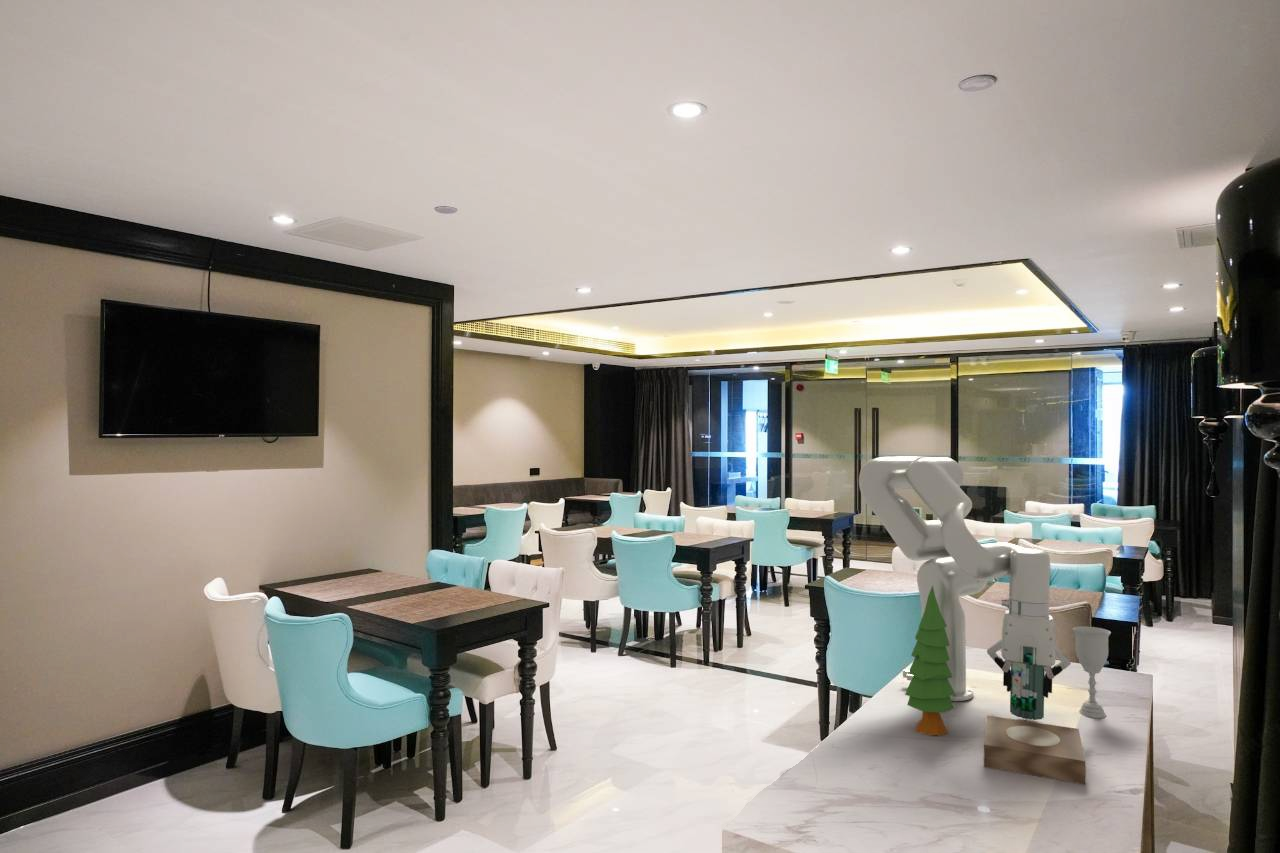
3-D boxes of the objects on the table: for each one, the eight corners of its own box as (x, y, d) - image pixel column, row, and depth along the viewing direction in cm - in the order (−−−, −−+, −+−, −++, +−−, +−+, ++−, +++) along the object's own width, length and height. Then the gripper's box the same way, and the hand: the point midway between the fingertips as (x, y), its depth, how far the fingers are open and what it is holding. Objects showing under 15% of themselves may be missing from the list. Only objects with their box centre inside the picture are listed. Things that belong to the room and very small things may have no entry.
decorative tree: (937, 742, 148) (936, 590, 149) (894, 728, 156) (893, 583, 156) (962, 730, 155) (960, 583, 155) (919, 717, 162) (918, 577, 162)
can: (1004, 710, 161) (1005, 640, 161) (1026, 707, 163) (1028, 638, 163) (1026, 721, 155) (1028, 648, 155) (1049, 717, 157) (1051, 646, 157)
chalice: (1102, 708, 167) (1101, 626, 167) (1118, 719, 160) (1117, 634, 160) (1067, 707, 167) (1066, 626, 167) (1082, 718, 160) (1081, 634, 161)
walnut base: (984, 766, 138) (983, 743, 138) (987, 735, 152) (987, 714, 152) (1085, 784, 130) (1085, 759, 130) (1078, 749, 145) (1078, 727, 145)
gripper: (982, 606, 159) (981, 691, 159) (1077, 617, 151) (1075, 706, 152) (984, 599, 166) (982, 680, 166) (1074, 609, 158) (1073, 694, 158)
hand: (1027, 691), depth 159 cm, fingers closed on can, 6 cm apart
